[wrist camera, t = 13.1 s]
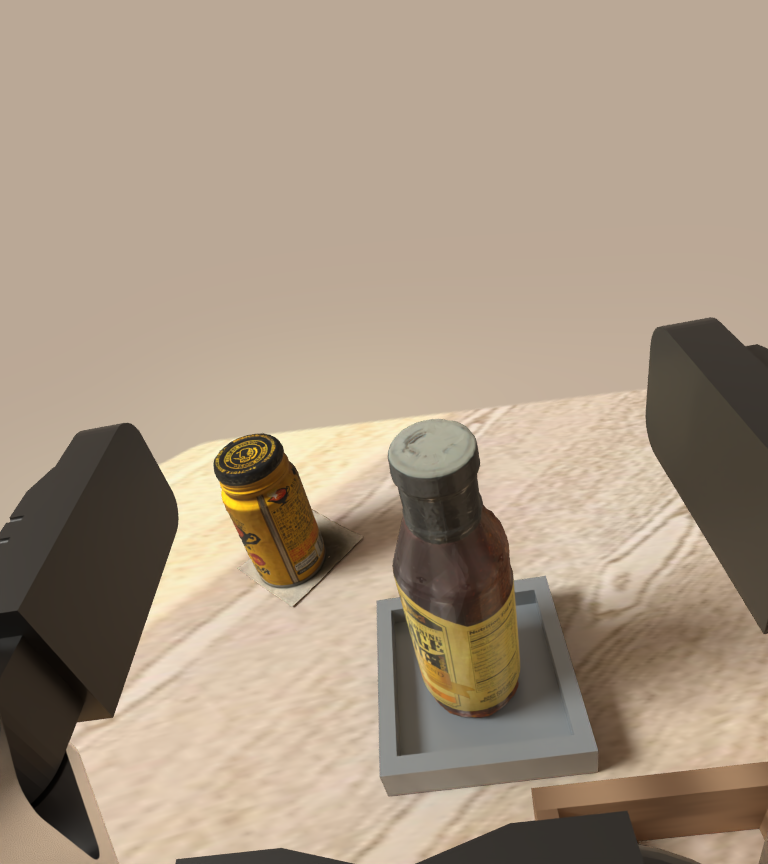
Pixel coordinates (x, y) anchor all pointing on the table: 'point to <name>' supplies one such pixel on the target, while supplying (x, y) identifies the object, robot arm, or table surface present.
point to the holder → (669, 801)
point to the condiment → (277, 518)
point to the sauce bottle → (454, 571)
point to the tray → (488, 736)
